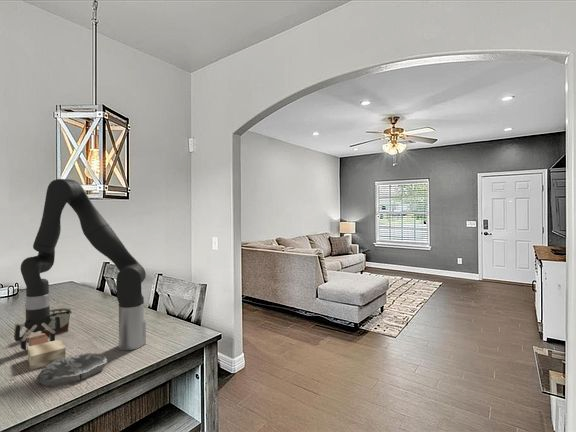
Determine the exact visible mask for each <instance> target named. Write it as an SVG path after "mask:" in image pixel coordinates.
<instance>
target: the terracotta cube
mask: <svg viewBox="0 0 576 432" xmlns="http://www.w3.org/2000/svg"><path fill="white" fill-rule="evenodd" d="M46 342H49V338H48V336H47V335H46V334H45V333H43V334H41V333H40V334H39V333H38V334H35V335H29V336H28V347H29V346H34V345H38V344H42V343H46Z"/></svg>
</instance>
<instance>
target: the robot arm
mask: <svg viewBox="0 0 576 432" xmlns="http://www.w3.org/2000/svg"><path fill="white" fill-rule="evenodd" d="M44 200H45V201H44V206H43V211H42V217H41V221H40V225H39V227H38V231H37V234H36V236H35V239H34V242H33V244H32V248H33V250H34V251H36V252H38V254H37V255H35V256H29V257H27V258H24V259H23V260H22V262H21V265H20V274H21V275H22V279H23V282H24V284H25V290H26V291H25V293H26V294H25V296H26V297H25V305H24V307H25V322H24V323H21V324H20V323H15V324H14V335H13V339H14V340H15V342H20V349H22V351H27V339H28V338H29V337H30V336H31V334H32V333H33V334H34V333H38V332H41V331H43V330H44V329H47V330H48V331H49V332H50V336H49V342H51V341H55V340H56V335H55V333H56V332H57V331H60V330H61V328H60V318H59V316H55V317H52V318H50V310H51V302H50V301H51V300H50V299H51V297H50V285H49V284H50V283H49V281H48V279H46V278H42V277H41V274H42V273H47V272H49V271H50V270H51V269H52V267H53V266H54V264H55V257H56V256H55V255H56V254H55V253H56V252H55V251H56V250H55V249H56V247H57V244H58V242H59V239H60V235H61V230H62V228H61V217H62V212H63V210H64V209H65V206H66V205H67V204H68V205H69V207H70V208H71V209H72V210H73V211H74V212H75V213H76V215H77V217H78V220H79V224H80V226H81V230H82V233H83V235H84V236H85V238H86V239H87V240H88V242H89V243H90V244H91V246H92V247H94V249H95V250H97V251H98V252H99V253H100V254H102V255H103V256H105V257H106V258H108V259H109V260H110V261H111V262H112V263H113V264H114V266H115V267H116V269H118V273H117V275H116V279H115V280H116V286H115V287H116V298H117V299H116V300H117V301H118V349H119V350H121V351H133V350H137V349H139V348H141V347H143V346H144V345H146V343H147V339H146V338H147V330H146V329H147V322H146V320H144V319H145V318H144V317H145V309H144V307H145V305H144V303H145V298H144V295H143V293H142V283H143V282H145V279H146V274H147V273H146V271H145V268H144V267H143V265H142V264H141V263H139V260H137V259H136V258H135V257H134V256H133V255H132V254H131V253H130V251H128V249H127V248H126V247H125V245H124V244H123V242H122V241H121V239H120V238H119V237H118V235H117V234H116V233H115V231H114V229H112V227H111V226H110V224H109V223H108V222H107V220H106V219H105V218H104V217H103V215H102V214H101V213H100V212H99V210H97V208H96V207H95V206H94V203H93V202H92V201H91V199H90V197H89V196H88V193H86V191H85V189H84V188H83V186H82V184H80V182H78V181H77V180H74V179H69V178H68V179H66V178H56V179H54V180H52V181H50V183H49V184H48V186H47V189H46V193H45V199H44ZM51 321H53V322H55V328H54V329H52V328H51V327H50V326H48V325H49V323H50V322H51ZM23 328H26V330H24V332H23V334H22V335H21V331H22V330H23ZM20 335H21V336H20Z"/></svg>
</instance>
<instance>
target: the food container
mask: <svg viewBox="0 0 576 432" xmlns="http://www.w3.org/2000/svg"><path fill="white" fill-rule="evenodd" d="M72 314H73V313H72V309H71V308H67V307H65V308H63V307H61V308H53V309H50V318H52V317H55V316H59V318H60V328H61V330H60V331H57V332H56V333H55V336H57V335H60V334H64V333H68V332H69V328H70V316H71V315H72ZM48 326H50V327H51V328H52V329H54V328H55V322H53V321H51V322H50V323H49V325H48ZM43 333H45V334H46V335H47V336H48V337H49V338H50V332H49V331H48V330H47V329H44V330H43V331H40V334H43Z"/></svg>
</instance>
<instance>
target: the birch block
mask: <svg viewBox="0 0 576 432" xmlns="http://www.w3.org/2000/svg"><path fill="white" fill-rule="evenodd" d="M61 358H66V347H65V345H64V342H63V341H62V339H61V338H60V339H55V341H51V342H50V341H48V342H46V343H42V344H38V345H34V346H29V345H28V346H27V361H28V365H29V369H30V370H31V371H33V370H34V369H38V368H39V369H40V368H43V367H46V366H47V365H48V364H50V363H52V362H53V361H55V360H58V359H61Z"/></svg>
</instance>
